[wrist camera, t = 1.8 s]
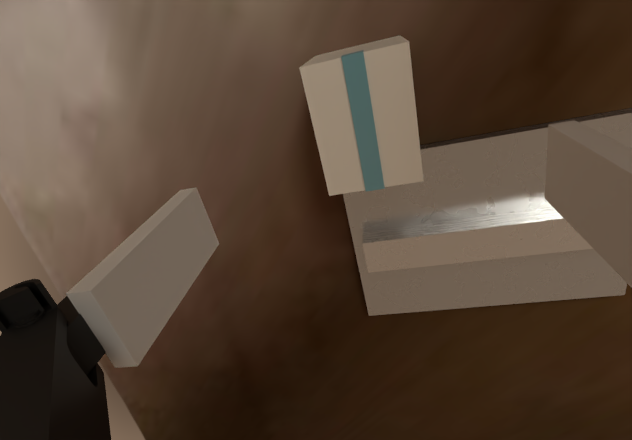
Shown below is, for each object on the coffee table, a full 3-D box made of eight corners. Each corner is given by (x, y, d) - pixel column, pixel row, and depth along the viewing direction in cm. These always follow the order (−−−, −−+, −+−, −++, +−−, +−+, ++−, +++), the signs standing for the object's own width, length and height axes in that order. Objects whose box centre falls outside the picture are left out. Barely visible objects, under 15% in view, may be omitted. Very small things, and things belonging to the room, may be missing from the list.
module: (315, 55, 27) (298, 66, 21) (399, 34, 25) (409, 40, 19) (337, 160, 30) (329, 197, 24) (412, 147, 29) (423, 182, 23)
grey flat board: (337, 160, 30) (334, 172, 28) (650, 104, 25) (679, 113, 23) (368, 308, 37) (368, 329, 35) (618, 287, 33) (638, 309, 30)
